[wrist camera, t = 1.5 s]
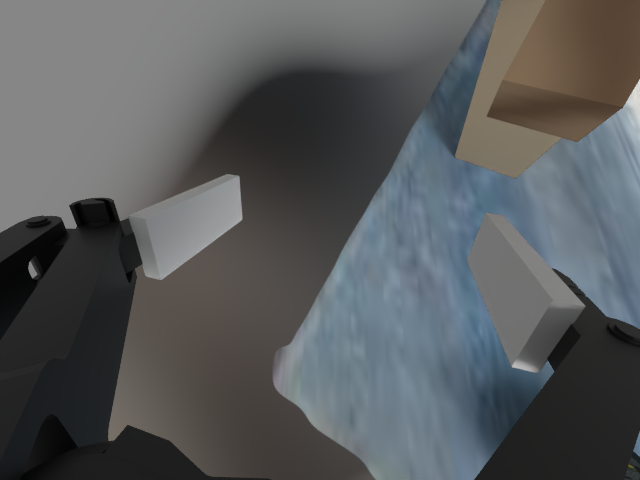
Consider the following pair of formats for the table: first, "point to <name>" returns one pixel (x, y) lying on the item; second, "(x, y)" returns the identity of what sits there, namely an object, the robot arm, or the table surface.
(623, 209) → the table surface
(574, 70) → the brown rectangular bar
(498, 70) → the carton
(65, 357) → the robot arm
